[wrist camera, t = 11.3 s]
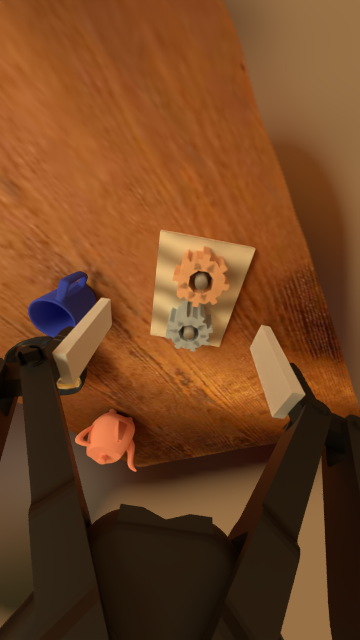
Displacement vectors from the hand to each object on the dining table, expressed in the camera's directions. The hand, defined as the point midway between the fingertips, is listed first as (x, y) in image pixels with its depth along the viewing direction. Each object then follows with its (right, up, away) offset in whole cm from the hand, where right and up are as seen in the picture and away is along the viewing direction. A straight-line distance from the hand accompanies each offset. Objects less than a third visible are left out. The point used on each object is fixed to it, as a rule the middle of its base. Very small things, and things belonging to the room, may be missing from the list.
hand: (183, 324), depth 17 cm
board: (+3, +5, +22) cm, 23 cm away
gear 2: (+2, +1, +23) cm, 24 cm away
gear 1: (+3, +9, +18) cm, 20 cm away
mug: (-20, +7, +23) cm, 32 cm away
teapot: (-22, -35, +51) cm, 66 cm away
